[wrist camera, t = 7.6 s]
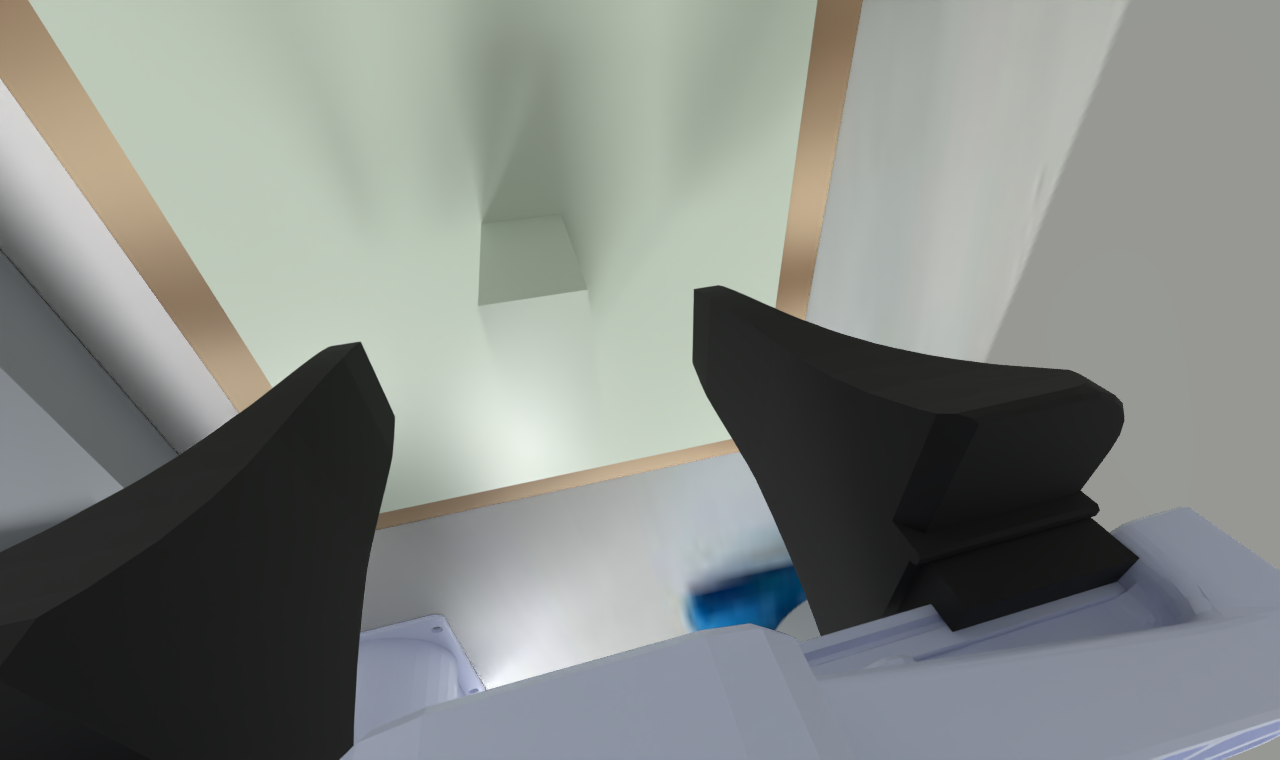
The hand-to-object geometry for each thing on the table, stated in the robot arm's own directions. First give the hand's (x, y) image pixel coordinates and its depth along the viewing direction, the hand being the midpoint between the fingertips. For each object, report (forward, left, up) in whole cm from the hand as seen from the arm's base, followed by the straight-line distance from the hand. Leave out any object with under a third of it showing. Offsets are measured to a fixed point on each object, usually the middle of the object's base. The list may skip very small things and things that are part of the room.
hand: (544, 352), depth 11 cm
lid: (0, 0, -4) cm, 4 cm away
